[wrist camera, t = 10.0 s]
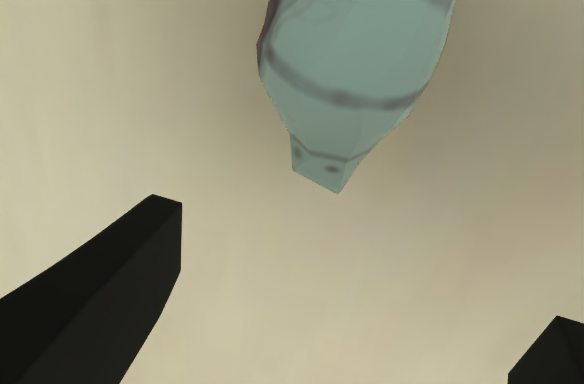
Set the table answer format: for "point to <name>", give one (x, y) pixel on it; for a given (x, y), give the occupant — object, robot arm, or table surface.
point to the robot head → (347, 74)
